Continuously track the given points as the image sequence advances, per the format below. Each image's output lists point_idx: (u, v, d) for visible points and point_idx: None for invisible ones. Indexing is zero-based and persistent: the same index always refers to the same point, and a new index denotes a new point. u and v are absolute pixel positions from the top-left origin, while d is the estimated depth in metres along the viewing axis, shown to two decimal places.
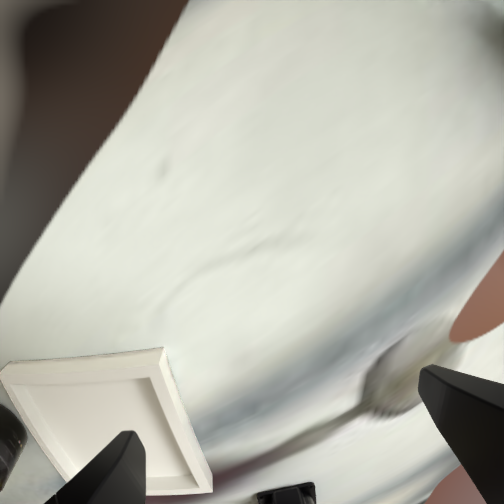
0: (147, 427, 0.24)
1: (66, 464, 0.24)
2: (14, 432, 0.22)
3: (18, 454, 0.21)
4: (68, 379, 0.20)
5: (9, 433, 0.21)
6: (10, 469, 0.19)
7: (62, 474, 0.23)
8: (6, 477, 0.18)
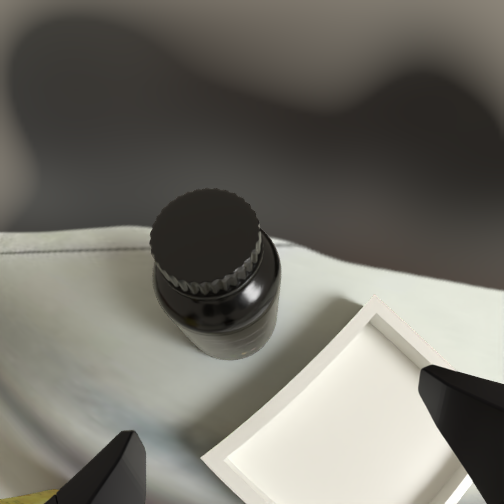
0: (412, 480, 0.16)
1: None
2: (267, 337, 0.21)
3: (234, 352, 0.19)
4: None
5: (270, 330, 0.20)
6: (231, 343, 0.17)
7: (239, 432, 0.17)
8: (228, 338, 0.16)
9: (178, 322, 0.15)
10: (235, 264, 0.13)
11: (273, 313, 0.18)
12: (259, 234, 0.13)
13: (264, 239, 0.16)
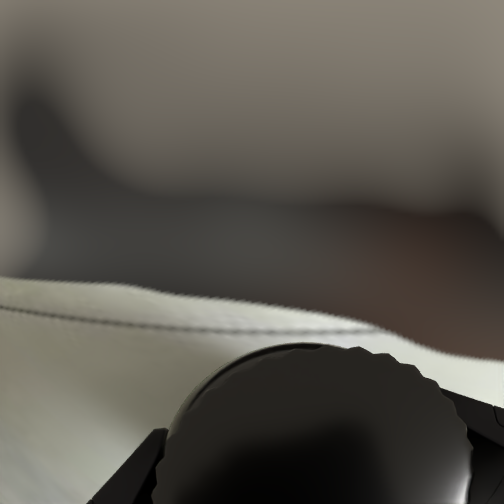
0: None
1: None
2: None
3: None
4: None
5: None
6: None
7: None
8: None
9: None
10: None
11: None
12: None
13: None
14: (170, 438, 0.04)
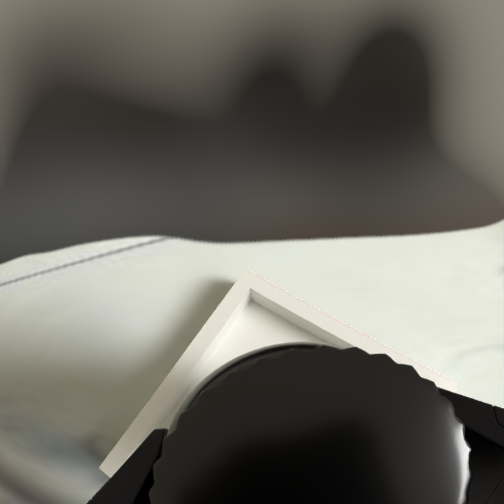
0: None
1: None
2: None
3: None
4: (353, 339, 0.18)
5: None
6: None
7: (127, 437, 0.15)
8: None
9: None
10: None
11: None
12: None
13: None
14: (167, 438, 0.04)
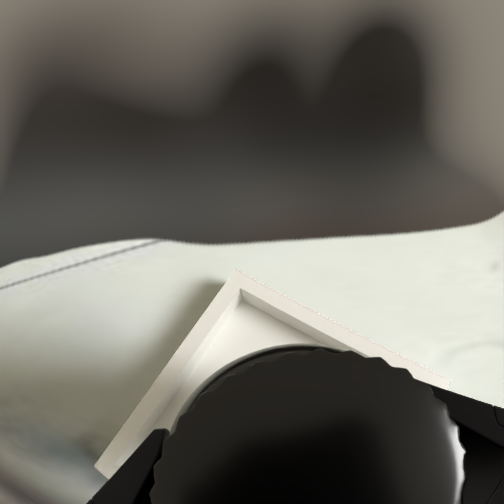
0: None
1: (142, 434, 0.16)
2: None
3: None
4: (343, 336, 0.18)
5: None
6: None
7: (121, 436, 0.16)
8: None
9: None
10: None
11: None
12: (460, 483, 0.03)
13: None
14: (167, 439, 0.04)
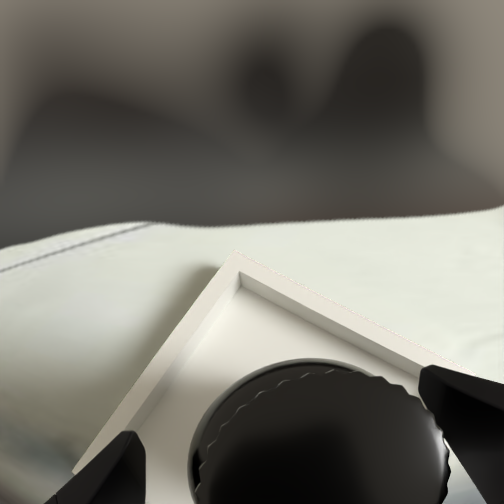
0: None
1: None
2: None
3: None
4: (356, 325, 0.16)
5: None
6: None
7: (101, 438, 0.13)
8: None
9: None
10: None
11: None
12: (445, 477, 0.04)
13: None
14: (211, 446, 0.05)
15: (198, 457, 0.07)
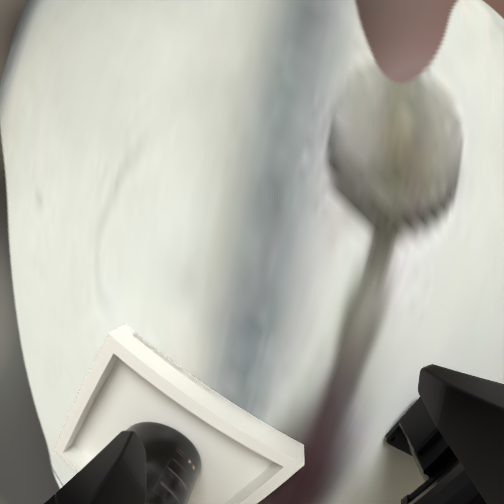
0: (181, 423, 0.21)
1: None
2: (178, 448, 0.19)
3: (191, 480, 0.18)
4: (79, 409, 0.20)
5: (172, 451, 0.19)
6: (182, 502, 0.16)
7: None
8: None
9: None
10: None
11: (154, 475, 0.15)
12: None
13: None
14: None
15: None
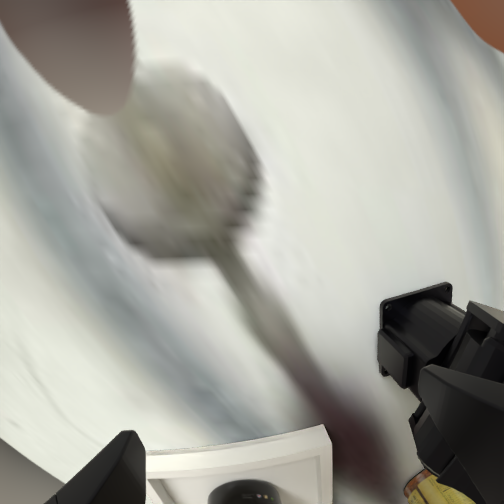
0: (231, 475, 0.23)
1: None
2: (243, 494, 0.21)
3: None
4: None
5: (240, 500, 0.21)
6: None
7: None
8: None
9: None
10: None
11: None
12: None
13: None
14: None
15: None
